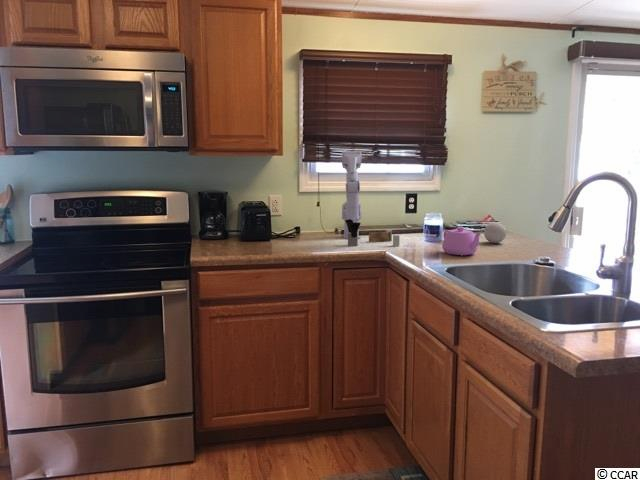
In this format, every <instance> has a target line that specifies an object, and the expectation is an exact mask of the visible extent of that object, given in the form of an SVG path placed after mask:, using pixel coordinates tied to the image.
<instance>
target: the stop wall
mask: <svg viewBox="0 0 640 480" xmlns="http://www.w3.org/2000/svg"><path fill="white" fill-rule="evenodd" d="M392 246H393V247H400V234H392Z"/></svg>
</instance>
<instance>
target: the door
mask: <svg viewBox="0 0 640 480" xmlns="http://www.w3.org/2000/svg"><path fill="white" fill-rule="evenodd" d="M379 242H380V243H382V242H383V243H384V242H385V243H386V242H392V241H391V232H386V231H385V232H384V231H383V232H382V231H381V232H380V231H379V232H368V243H379Z"/></svg>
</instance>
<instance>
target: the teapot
mask: <svg viewBox="0 0 640 480" xmlns="http://www.w3.org/2000/svg"><path fill="white" fill-rule="evenodd" d="M483 233H484V230H483V231H478V232H476V233H475V234H474V232H473V231H472V230H467V229H465V227H463V226H457V227H456V229H447V230H444V232H443V233H442V235H443V241H442V250H443V251H444V253H447V254H448V255H456V256H458V255H464V256H468V255H473V254H475V253H476V252H477V250H478V246H479V244H480V235H481V234H483Z"/></svg>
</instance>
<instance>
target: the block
mask: <svg viewBox="0 0 640 480" xmlns="http://www.w3.org/2000/svg"><path fill="white" fill-rule="evenodd" d="M358 236H359V234H357V237H352V236H351V232H348V239H347V245H348V247H359V246H358V245H359V244H358V242H359V241H358V240H359V238H358Z"/></svg>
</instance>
